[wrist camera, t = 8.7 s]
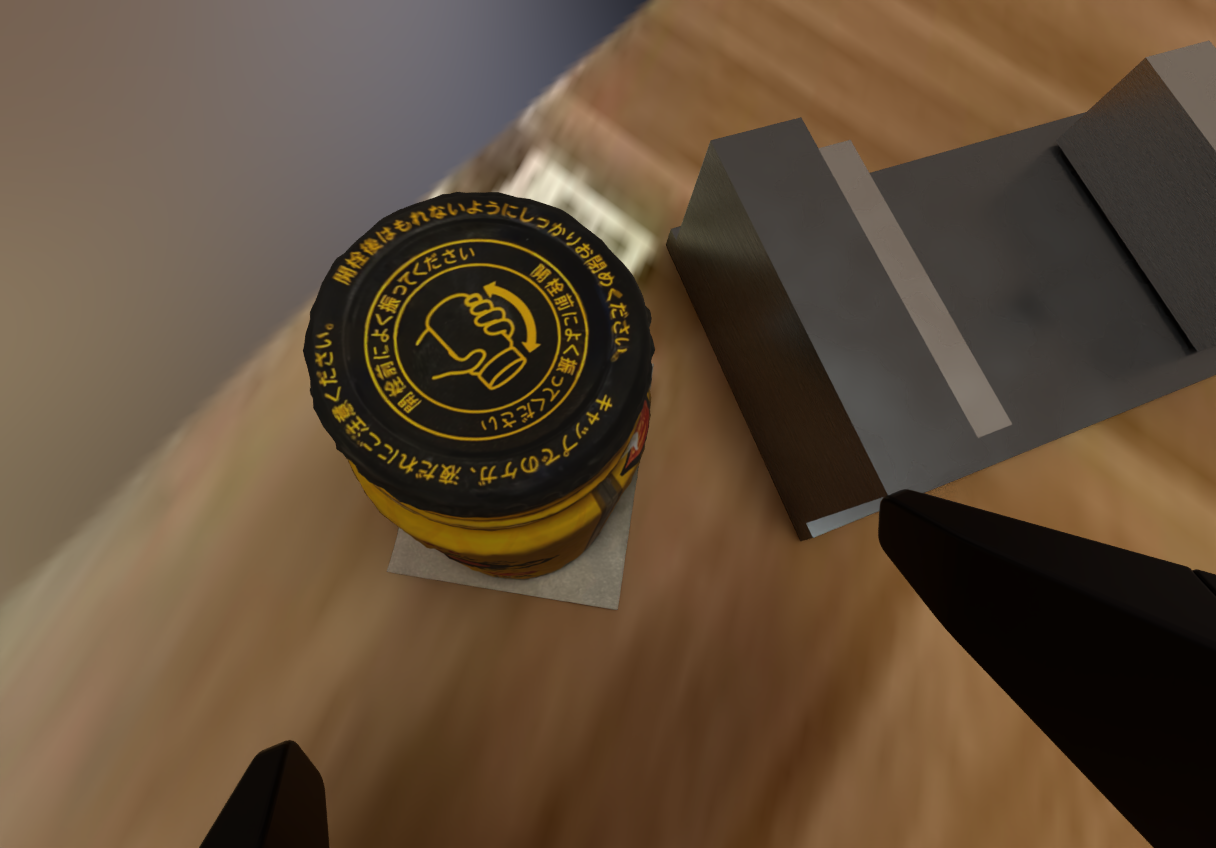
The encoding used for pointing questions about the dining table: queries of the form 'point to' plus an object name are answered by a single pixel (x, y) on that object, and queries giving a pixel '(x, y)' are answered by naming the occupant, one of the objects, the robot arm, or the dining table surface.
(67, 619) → the dining table surface
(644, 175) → the dining table surface
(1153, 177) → the sliding jaw
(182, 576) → the dining table surface
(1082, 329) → the vise
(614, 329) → the condiment
